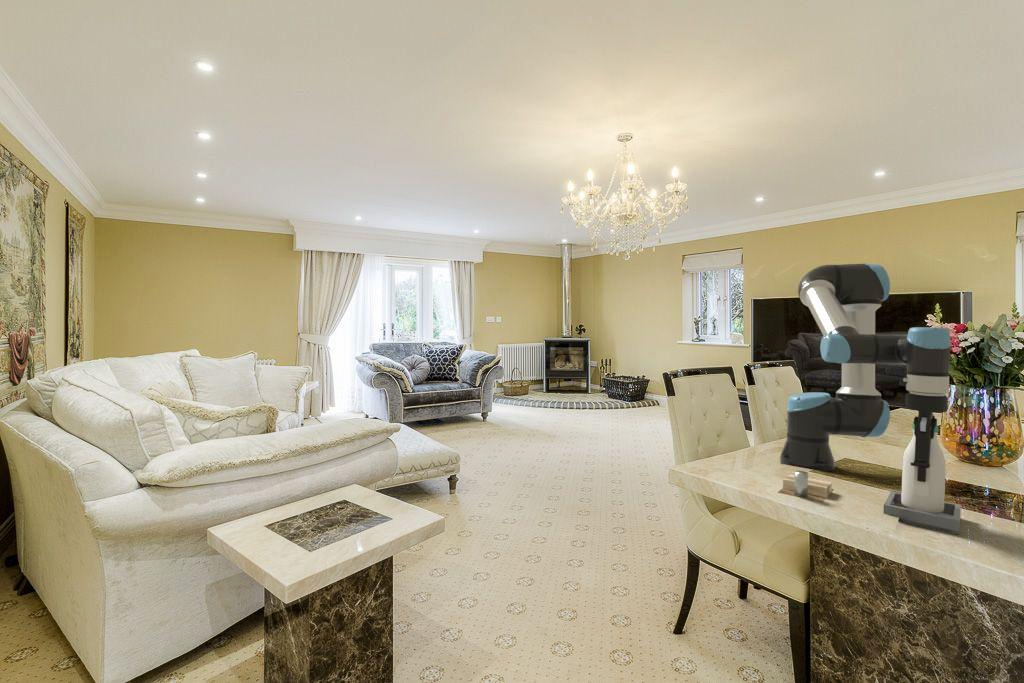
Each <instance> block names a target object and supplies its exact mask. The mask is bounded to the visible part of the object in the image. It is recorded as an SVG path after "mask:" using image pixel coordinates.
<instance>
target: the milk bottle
mask: <svg viewBox="0 0 1024 683" xmlns="http://www.w3.org/2000/svg"><path fill="white" fill-rule="evenodd" d="M911 427H912V433H913V434H912V438H911V440H910V442H909V443H908V445H907V446H906V448H905V450H904V453H903V457H902V469H901V470H902V471H901V472H902V473H901V502H902V503H901V502H900V503H901V504H902V506H903V507H904V506H905V507H907V508H909V509H912V510H917V511H922V512H927V513H942V512H943V511H944V502H946V501H945V498H946V497H945V496H946V494H945V493H946V459H945V455H944V452H943V450H942V449H941V447H940V444H939V442H938V439H937V438H938V437H937V436H938V435H939V433H938V432H939V425H938V424H937V425H936V428H935V429H934V438H933V439H931V447H930V462H929V464H930V467H929V468H930V487H929V497H927V496H922V495H917V494H913V491H914V466H911V463H914V460H915V441H916V436H915V435H914V431H915V425H914V422H913V423H912V425H911ZM930 434H931V432H930ZM920 461H924V460H920Z"/></svg>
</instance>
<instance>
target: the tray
mask: <svg viewBox="0 0 1024 683" xmlns="http://www.w3.org/2000/svg"><path fill="white" fill-rule="evenodd" d="M896 502H897V503H901V504H902V502H901V493H900V492H897V491H890V492H889V495H888V496H887V498H886V500H885V501H884V503H883V511H882V512H883V513H882V514H885V515H889V516H893V517H898V520H897V522H898V523H903V524H907V525H911V526H912V525H913V526H917V527H920V528H925V529H928V530H933V531H938V532H943V533H947V534H950V535H951V534H952V535H956V536H959V535H960V534H959V533H960V524H961V517H962V516H961V514H962V505H961V504H958V503H953V502H948V501H944V511H943V512H942V513H927V512H922V511H917V510H912V509H909V508H907V507H905V506H904V505H903V507H902V506H898V505H895V503H896Z"/></svg>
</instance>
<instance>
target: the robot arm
mask: <svg viewBox="0 0 1024 683" xmlns="http://www.w3.org/2000/svg"><path fill="white" fill-rule="evenodd" d="M797 288H798V289H797V294H798V297H799V300H800V301H801V303H802V304H803V306H806V307H808V309H809V311H810V312H811V315H812V316H813V319H814V321H815V322H816V325H817V326H818V328H819V330H820V332H821V334H822V336H823V337H822V338H821V340H820V346H819V349H820V350H819V351H820V355H821V358H822V359H823V361H824V362H827V363H835V364H836V363H837V364H841V387H840V388H839V389H838V390H837V391H836V392H835V397H832V396H831V394H830V393H828V392H821V391H820V392H815V391H814V392H802V393H801V392H800V393H795V394H792V395H790V396H789V397H788V399H787V407H786V412H787V414H786V418H787V420H786V441H785V442H784V445H783V447H782V450H781V453H780V455H779V463H780V464H782V465H785V466H791V467H795V468H801V469H808V470H813V471H818V472H822V473H823V472H824V473H828V472H833V471H835V470H836V461H835V458H834V455H833V452H832V450H831V446H830V435H831V436H832V435H833V436H847V437H849V436H850V437H862V438H878V437H880V436H882V435H883V434H884V433H885V431H886V430H887V429H888V427H889V424H890V420H891V410H890V404H889V403H888V401H887V400H885V399H882V394H881V392H880V391H878V390H877V389H876V365H878V364H879V365H905V366H906V377H903V379H902V381H903V382H905V383H906V384H905V385H906V386H905V390H906V391H907V393H906V394H905V401H904V402H905V403H904V404H905V408H906V409H907V410H911V411H917V412H918V414H917V416H915V417H914V418H913V423H914V425H915V431H914V435H915V436H916V441H915V460H914V463H911V466H914V491H913V494H917V495H922V496H927V497H929V487H930V468H929V467H930V464H929V462H930V447H931V439H933V438H934V429H935V428H936V425H938V418H935V417H936V416H935V415H934V413H946V412H948V408H949V407H948V406H949V397H948V396H947V395H946V394H949V393H950V392H949V391H950V388H949V387H950V376H949V375H950V374H949V373H950V361H951V359H950V358H951V346H952V342H951V330H949V329H948V328H947V327H935V326H933V327H932V326H931V327H929V326H927V327H920V326H917V327H916V326H915V327H910V328H909V330H908V332H907V334H906V333H905V334H904V333H903V334H900V333H898V334H876V311H877V310H878V309H880V308H881V307H882V302H884V301H886V300H887V299H888V298H889V296H890V291H891V282H890V277H889V274H888V272H887V270H886V269H885V267H884V266H882V265H880V264H877V263H865V262H864V263H849V264H846V263H845V264H844V263H843V264H824V265H820V266H817V267H814V268H812V269H811V270H810V271H808V272H806V274H805V275H804V276H803V277H802V278H801V280H800V282H799V283H798V286H797ZM930 432H931V434H930ZM920 460H924V461H920Z"/></svg>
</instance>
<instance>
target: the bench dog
mask: <svg viewBox="0 0 1024 683" xmlns="http://www.w3.org/2000/svg"><path fill="white" fill-rule="evenodd" d="M794 475H795V476H794V495H795V496H794V497H796V496H797V498H800V497H802V499H805V498H806V497H808V478H809V472H806V471H802V470H795V471H794Z"/></svg>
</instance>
